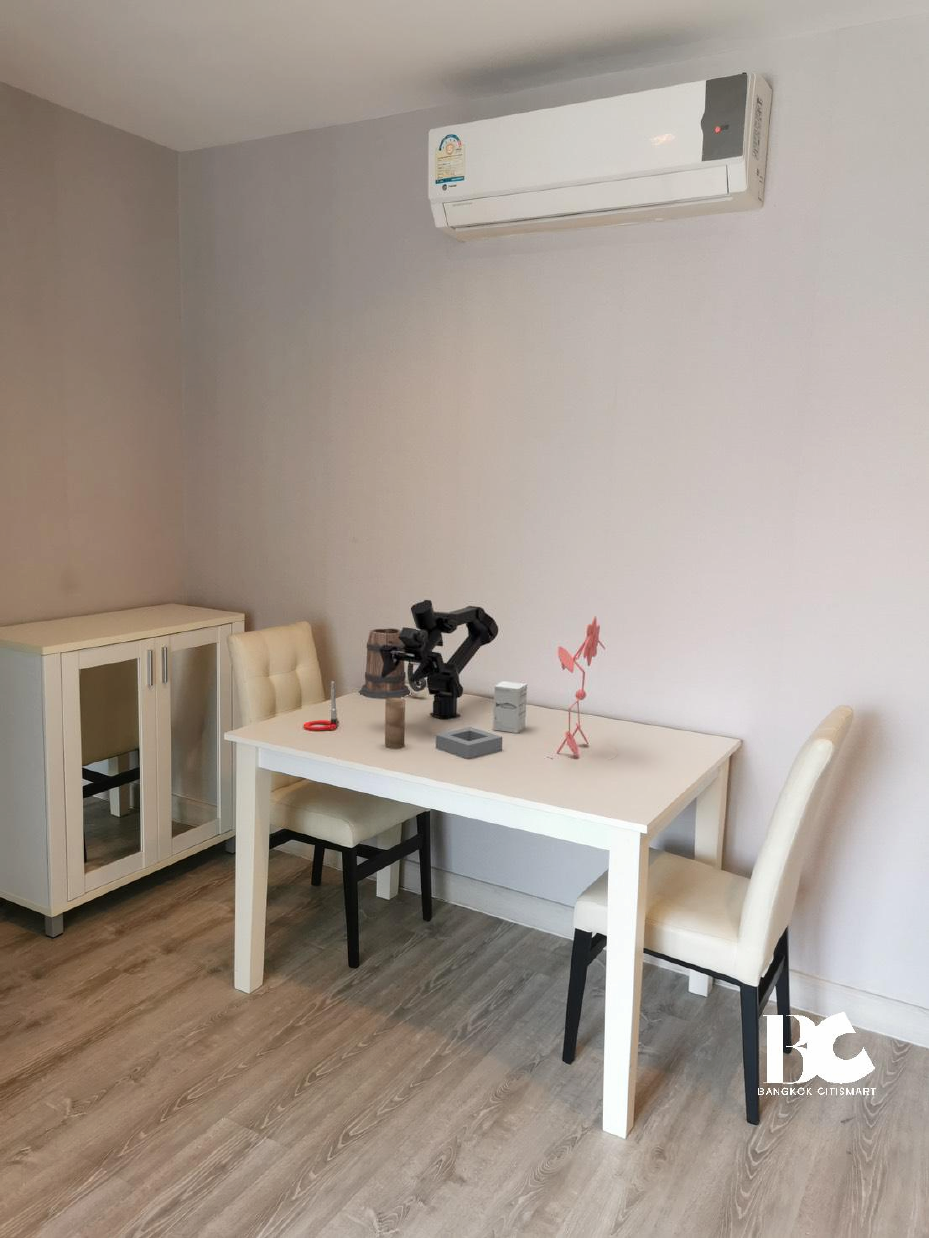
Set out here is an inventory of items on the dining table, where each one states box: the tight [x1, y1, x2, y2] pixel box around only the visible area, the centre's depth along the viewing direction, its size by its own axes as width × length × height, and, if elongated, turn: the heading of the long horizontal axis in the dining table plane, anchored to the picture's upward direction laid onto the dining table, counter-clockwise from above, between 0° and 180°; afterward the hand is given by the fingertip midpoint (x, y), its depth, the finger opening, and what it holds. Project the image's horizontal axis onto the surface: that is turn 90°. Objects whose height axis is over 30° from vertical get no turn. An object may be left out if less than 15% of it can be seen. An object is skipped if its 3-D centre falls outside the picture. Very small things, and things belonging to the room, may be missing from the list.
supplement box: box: [492, 680, 528, 734], centre depth 257 cm, size 7×7×13 cm
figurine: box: [546, 615, 606, 760], centre depth 235 cm, size 15×26×35 cm, turn 158°
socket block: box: [435, 726, 503, 760], centre depth 238 cm, size 12×12×4 cm
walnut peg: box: [384, 698, 406, 749], centre depth 239 cm, size 5×5×12 cm
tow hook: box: [302, 681, 340, 732], centre depth 254 cm, size 8×13×9 cm
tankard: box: [358, 627, 427, 700], centre depth 293 cm, size 24×17×20 cm
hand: (396, 678), depth 246 cm, fingers open, 9 cm apart
